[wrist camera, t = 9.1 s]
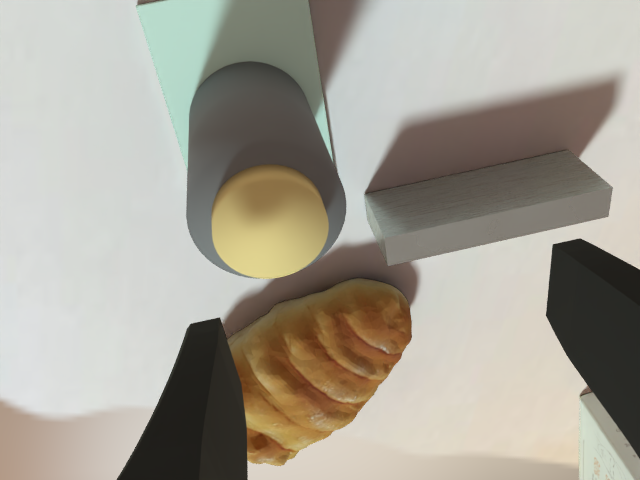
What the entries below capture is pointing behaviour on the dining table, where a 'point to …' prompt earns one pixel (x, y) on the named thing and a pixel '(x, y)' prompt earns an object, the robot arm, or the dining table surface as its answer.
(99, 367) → the dining table surface
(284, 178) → the grey canister
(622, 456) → the small box
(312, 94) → the mat
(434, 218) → the metal brackets
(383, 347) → the pastry
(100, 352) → the dining table surface
